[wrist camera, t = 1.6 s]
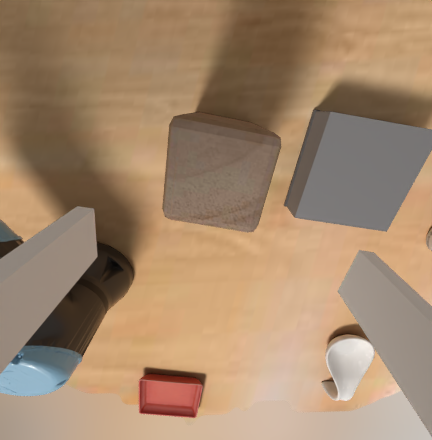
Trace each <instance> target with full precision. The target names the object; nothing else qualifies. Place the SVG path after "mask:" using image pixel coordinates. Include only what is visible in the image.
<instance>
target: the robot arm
mask: <svg viewBox="0 0 432 440" xmlns="http://www.w3.org/2000/svg"><path fill="white" fill-rule="evenodd" d="M132 281H133V271H132V268H131V266H130V264H129V262H128V261H127V259H126V258H125V257H124V256H123V255H122V254H121V253H120V252H118V251H117V250H115V249H113V248H112V247H110V246H107V245H104V244H101V243H97V242H96V227H95V213H94V209H93V208H86V207H80V206H77V207H75V208H74V209H73V210H71V211H70V212H68V213H67V214H65V215H64V216H62V217H61V218H59V219H58V220H56V221H55V222H54V223H52V224H51V225H49V226H48V227H46V228H45V229H43V230H42V231H40V232H39V233H37V234H36V235H35V236H33V237H32V238H30V239H29V240H27V241H26V242H23V240H22V237H20V236H18V235H17V234H15V233H14V232H13V231H12V230H11V229H10V228H9V227H8V226H7V225H6V224H5V223H4V222H3V221H2V220H0V392H1V393H5V394H10V395H18V396H37V395H44V394H47V393H51V392H53V391H56V390H57V389H59V388H60V387H62V386H63V385H64V384H65V383H66V382H67V381H68V379H69V378H70V376H71V375H72V373H73V372H74V370H75V369H76V367H77V365H78V364H79V363H80V362H81V361H82V357H83V355H84V353H85V351H86V349H87V347H88V346H89V344H90V342H91V340H92V338H93V336H94V335H95V333H96V331H97V329H98V327H99V325H100V324H101V322H102V320H103V318H104V316H105V314H106V313H107V311H108V310H109V309H110V308H111V307H112V306H114V305H115V304H116V303H117V302H118V301H119V300H120V299H121V298H123V297H124V296H125V294H126V293H127V292H128V290H129V288H130V286H131V284H132ZM338 293H339V294H340V296H341V297H342V299H343V300H344V302H345V304H346V305H347V307H348V308H349V310H350V311H351V313H352V314H353V316H354V317H355V319H356V320H357V322H358V324H359V325H360V327H361V328H362V330H363V331H364V333H365V334H366V336H367V337H368V339H369V341H370V342H371V344H372V345H373V347H374V348H375V350H376V351H377V353H378V354H379V356H380V358H381V359H382V361H383V362H384V364H385V365H386V367H387V368H388V370H389V371H390V373H391V374H392V376H393V378H394V379H395V381H396V382H397V384H398V385H399V387H400V388H401V390H402V391H403V393H404V395H405V396H406V398H407V399H408V401H409V402H410V404H411V405H412V407H413V408H414V410H415V411H416V413H417V414H418V416H419V418H420V419H421V421H422V422H423V424H424V425H425V427H426V428H427V430H428V431H429V433H430V435H431V436H432V306H431V305H430V304H429V303H427V302H426V301H425V300H424V299H423V298H422V297H421V296H420V295H419V294H418V293H417V292H416V291H415V290H413V289H412V288H411V287H410V286H409V285H408V284H407V283H406V282H405V281H404V280H403V279H402V278H401V277H399V276H398V275H397V274H396V273H395V272H394V271H393V270H392V269H391V268H390V267H389V266H388V265H387V264H385V263H384V262H383V261H382V260H381V259H380V258H379V257H378V256H377V255H376V254H375V253H374V252H368V251H361V250H359V252H358V254H357V255H356V257H355V259H354V261H353V263H352V265H351V267H350V269H349V271H348V272H347V274H346V276H345V278H344V280H343V282H342V284H341V286H340V288H339V290H338Z"/></svg>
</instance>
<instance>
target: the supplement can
mask: <svg viewBox="0 0 432 440" xmlns="http://www.w3.org/2000/svg"><path fill="white" fill-rule="evenodd" d="M426 245H427V247H428V249H430V250H431V251H432V228H431V229H430V231H429V232H428V234H427V239H426Z"/></svg>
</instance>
